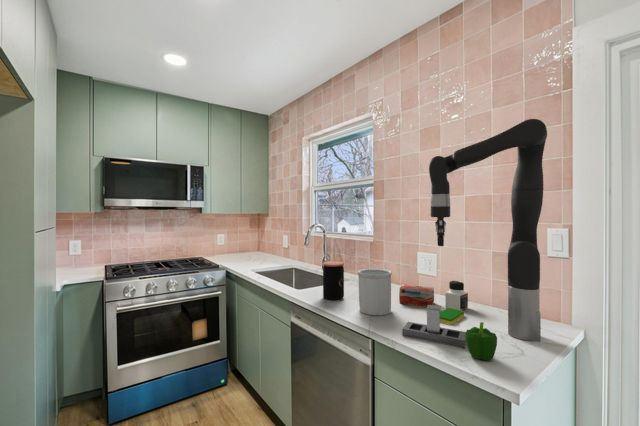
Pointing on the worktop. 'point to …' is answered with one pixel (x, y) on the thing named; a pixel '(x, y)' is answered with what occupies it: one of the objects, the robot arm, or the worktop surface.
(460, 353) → the worktop surface
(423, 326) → the peg hole block
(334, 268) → the coffee jar
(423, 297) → the medicine box
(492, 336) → the bell pepper
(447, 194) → the robot arm
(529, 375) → the worktop surface
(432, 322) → the steel peg
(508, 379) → the worktop surface
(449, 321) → the dish sponge
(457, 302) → the medicine bottle
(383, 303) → the utensil holder
